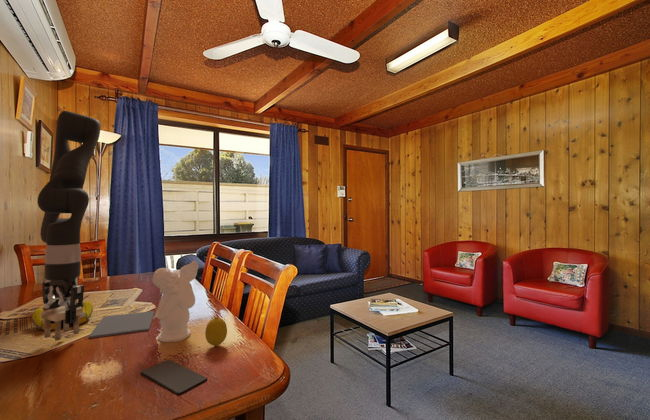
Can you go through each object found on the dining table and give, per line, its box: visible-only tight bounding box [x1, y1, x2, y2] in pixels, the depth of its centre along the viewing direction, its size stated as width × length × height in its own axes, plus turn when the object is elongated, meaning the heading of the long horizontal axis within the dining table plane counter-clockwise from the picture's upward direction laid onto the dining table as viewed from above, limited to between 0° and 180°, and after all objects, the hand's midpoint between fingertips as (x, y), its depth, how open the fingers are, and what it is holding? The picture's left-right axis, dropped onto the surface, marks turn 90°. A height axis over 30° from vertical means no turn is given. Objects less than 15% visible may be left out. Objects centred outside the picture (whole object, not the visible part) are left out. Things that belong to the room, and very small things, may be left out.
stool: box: [41, 306, 83, 341], centre depth 84 cm, size 6×6×7 cm
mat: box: [88, 310, 155, 339], centre depth 98 cm, size 18×15×1 cm
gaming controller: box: [31, 300, 94, 331], centre depth 98 cm, size 15×6×10 cm
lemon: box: [204, 316, 228, 347], centre depth 83 cm, size 6×6×8 cm
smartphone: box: [140, 359, 208, 396], centre depth 67 cm, size 7×1×15 cm
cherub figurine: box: [152, 259, 199, 343], centre depth 91 cm, size 12×12×22 cm
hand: (62, 321), depth 84 cm, fingers closed on stool, 6 cm apart
